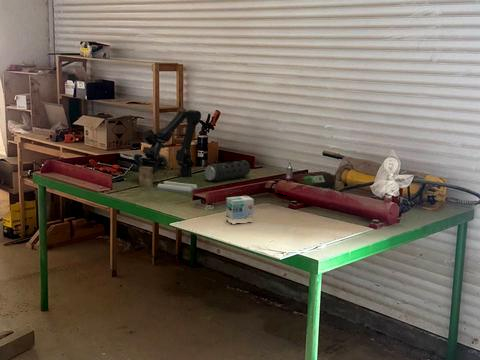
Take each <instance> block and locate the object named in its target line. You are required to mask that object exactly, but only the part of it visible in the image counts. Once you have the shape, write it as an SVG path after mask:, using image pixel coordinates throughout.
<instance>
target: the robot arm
mask: <svg viewBox="0 0 480 360" xmlns="http://www.w3.org/2000/svg"><path fill="white" fill-rule="evenodd" d="M201 118H202V113H201V111H199V110H193V109H190V110H189V109H188V110H179V111H178V113H177V114H176V115H175V116H174V117H173V118H172V120H171V121H170V122H169V123H168V124H167V125H166V126H165V127H162V128H161V129H160V130H158V131H156V133H155V132H154V131H153V130H152V129H148V130H146V131H145V132H143V133H142V135H141V138H142V139H143V141H144V142H145V143H146V144H147V145H149V146H143V147H142V153H143V154H144V156H145V157H144V156H143V154H138V153H136V154H134V155H133V159H134V161H135V162H136V164H137V166H136V167H137V168H136V172H137V173H139V167H142V166H144V163H145V162H150V163H155V165H154V167H153V172H152V174H153V175H154V174H155V173H158V171H160V170H162V168H165V167H167V166H168V163H169V162H168V161H167V159H166V157H165V156H160V153H161V150H162V149H165V148H166V146H165V143H168V142H169V141H170V140H171V139H172V137H173V134H174V132H175V131H176V129H177V128H178V127H179V126H180V125H181V124H182V122H184V120H186V124H187V125H186V128H185V133H184V136H183V142H182V146H181V148H180V149H177V150H176V155H175V161H176V162H177V165H178V166H179V168H178V176H179V177H182V178H189V177H193V174H192V167H194V165H195V162H194V161H193V160H192V153H191V145H192V142H193V138H194V135H195V129H196V126H197V125H198V124H199V123H200V122H201V121H200V120H201Z"/></svg>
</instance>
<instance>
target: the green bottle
mask: <svg viewBox="0 0 480 360" xmlns="http://www.w3.org/2000/svg"><path fill="white" fill-rule="evenodd" d="M287 175H288V174H287ZM287 175H281V176H279V181H280V180H281V179H285V178H286V177H287ZM291 175H292V177H293V178H294V179H296V180H297V182H299V183H303V184H307V185H312V186H318V187H322V188H330V189H333V190H334V189H335V188H334V187H336V181H337V175H336V174H333V173H331V172H327V171H313V172H312V171H311V172H304V173H296V174H291Z"/></svg>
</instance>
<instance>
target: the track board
mask: <svg viewBox="0 0 480 360" xmlns="http://www.w3.org/2000/svg"><path fill="white" fill-rule="evenodd" d="M196 188H198V185H197V184H193V183H182V182H175V181H166V180H164V181H163V183H158V184H157V187H156V190H161V191H165V192H166V191H167V192H173V193H174V192H175V193H182V194H183V193H184V194H191V193H193V192H194V191H193V190H194V189H196ZM198 189H199V188H198ZM192 191H193V192H192Z"/></svg>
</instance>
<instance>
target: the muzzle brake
mask: <svg viewBox="0 0 480 360" xmlns="http://www.w3.org/2000/svg"><path fill="white" fill-rule="evenodd" d="M250 171H251V165H250V163H249V161H247V160H246V159H243V160H236V161H229V162H223V163H222V162H221V163H212V164H209V165H207V166H206V167H205V169H204V175H205V178H206V179H207V180H208V181H212V182H214V181H216V182H221V181H220V180H222V181H223V180H226V179H229V178H231V179H236V178H235V177H239V178H242V177H241V176H248V175H249V174H250Z"/></svg>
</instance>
